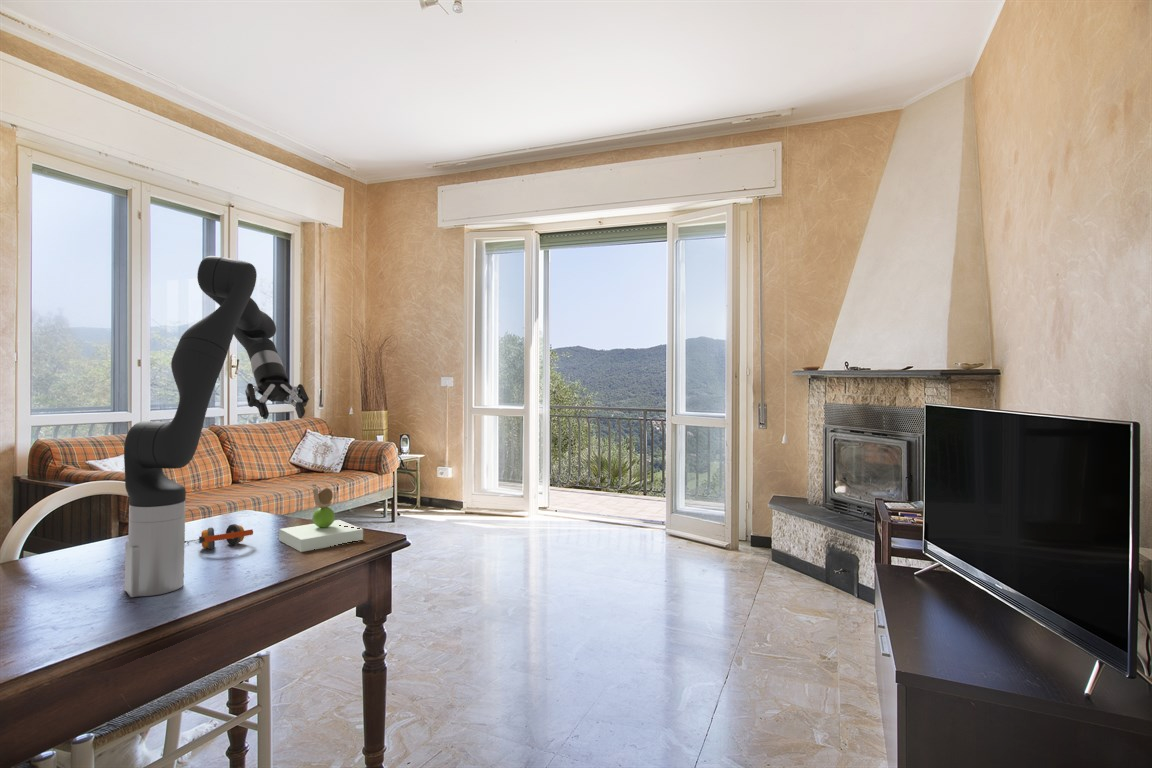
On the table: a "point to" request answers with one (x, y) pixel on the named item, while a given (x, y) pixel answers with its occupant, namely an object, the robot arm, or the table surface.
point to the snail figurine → (323, 508)
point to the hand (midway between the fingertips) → (284, 416)
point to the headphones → (223, 536)
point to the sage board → (319, 535)
